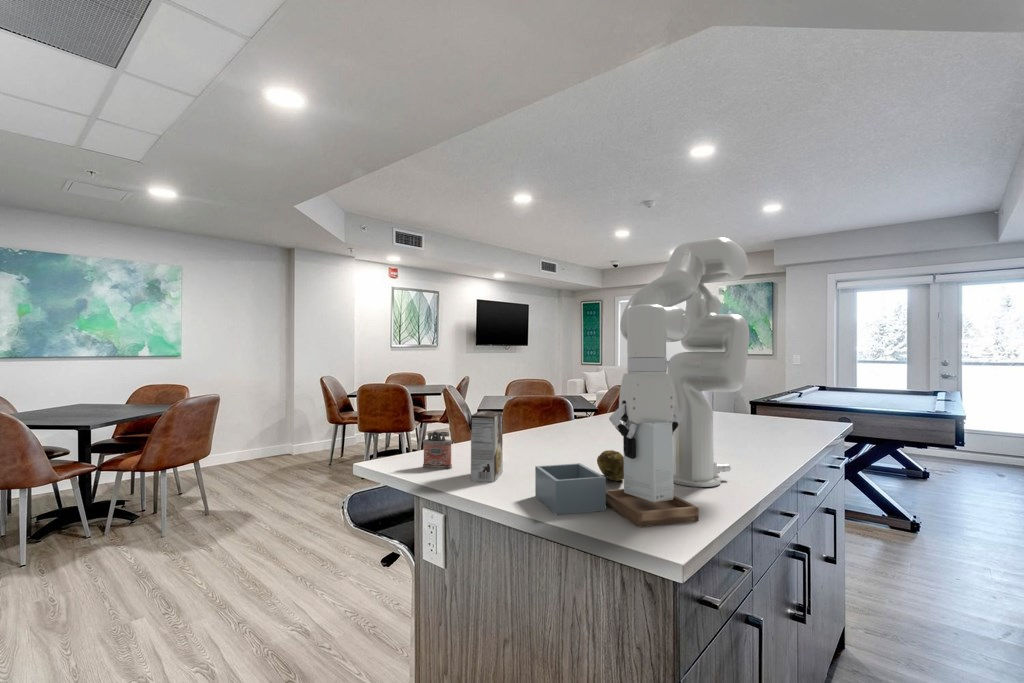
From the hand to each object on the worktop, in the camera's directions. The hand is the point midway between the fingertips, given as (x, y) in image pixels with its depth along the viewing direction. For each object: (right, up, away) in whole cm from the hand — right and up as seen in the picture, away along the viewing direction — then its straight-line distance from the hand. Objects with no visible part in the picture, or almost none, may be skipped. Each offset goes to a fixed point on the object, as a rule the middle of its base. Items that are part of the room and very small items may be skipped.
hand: (647, 455), depth 94 cm
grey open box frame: (-15, -11, +5) cm, 19 cm away
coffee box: (-33, -12, +26) cm, 44 cm away
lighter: (-47, -12, +35) cm, 60 cm away
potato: (-2, -12, +22) cm, 25 cm away
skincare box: (0, -8, 0) cm, 8 cm away
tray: (0, -11, 0) cm, 11 cm away
